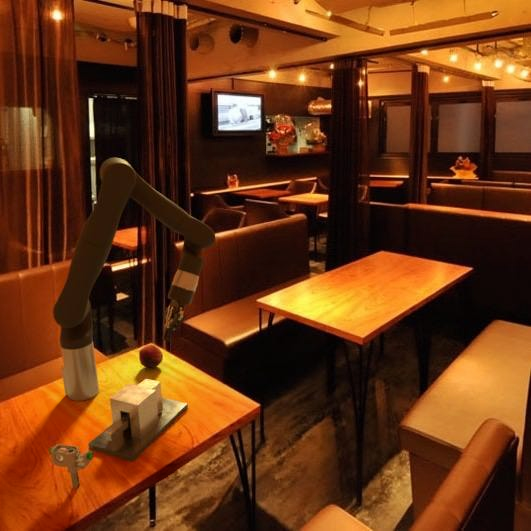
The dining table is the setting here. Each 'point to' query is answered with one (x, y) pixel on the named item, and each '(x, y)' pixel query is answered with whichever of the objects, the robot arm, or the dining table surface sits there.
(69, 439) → the dining table surface
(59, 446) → the mechanical component
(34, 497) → the dining table surface
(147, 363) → the fruit
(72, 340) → the robot arm
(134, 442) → the shaft housing
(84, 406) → the dining table surface
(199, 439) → the dining table surface
